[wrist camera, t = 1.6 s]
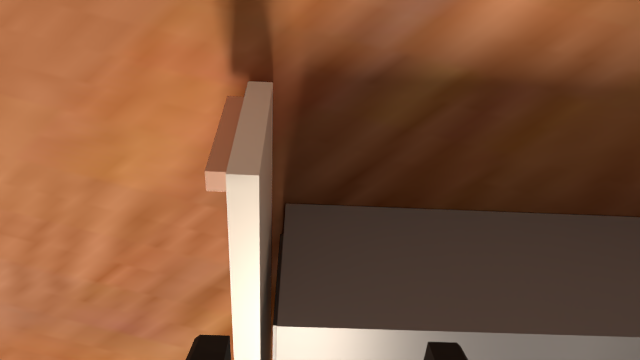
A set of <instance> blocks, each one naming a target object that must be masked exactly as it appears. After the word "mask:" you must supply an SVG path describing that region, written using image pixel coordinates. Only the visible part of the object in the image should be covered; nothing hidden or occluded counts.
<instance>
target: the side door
mask: <svg viewBox="0 0 640 360" xmlns="http://www.w3.org/2000/svg"><path fill="white" fill-rule="evenodd" d="M272 144H273V82H255V81H248V83H247V88H246V92H245V96H244V97H235V96H227V99H226V103H225V106H224V109H223V113H222V116H221V119H220V122H219V126H218V129H217V132H216V136H215V139H214V142H213V146H212V149H211V152H210V156H209V159H208V162H207V166H206V169H205V181H206V191H219V192H226V194H227V216H228V238H229V260H230V282H231V303H232V325H233V347H234V360H271V261H272Z"/></svg>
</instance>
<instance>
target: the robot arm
mask: <svg viewBox="0 0 640 360" xmlns="http://www.w3.org/2000/svg"><path fill="white" fill-rule="evenodd" d="M186 360H231V352H230V336H221V335H199V336H198V337H196V338H195V339H194V342H193V344H192V347H191V349H190V351H189V354H188V356H187V358H186ZM424 360H468V359H467V357H466V355H465V353H464V351H463V350H462V348H461V346H460V345H459V344H458V343H457V342H428V343H427V348H426V352H425V356H424Z"/></svg>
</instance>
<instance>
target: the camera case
mask: <svg viewBox="0 0 640 360" xmlns="http://www.w3.org/2000/svg"><path fill="white" fill-rule="evenodd" d="M428 342H457V343H458V344H459V345H460V346H461V348H462V350H463V351H464V353H465V355H466V357H467V359H468V360H640V217H624V216H598V215H572V214H546V213H520V212H494V211H468V210H442V209H416V208H390V207H364V206H338V205H312V204H286V208H285V222H284V234H280V244H279V257H278V270H277V282H276V295H275V307H274V320H273V360H424V356H425V352H426V348H427V343H428Z"/></svg>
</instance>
